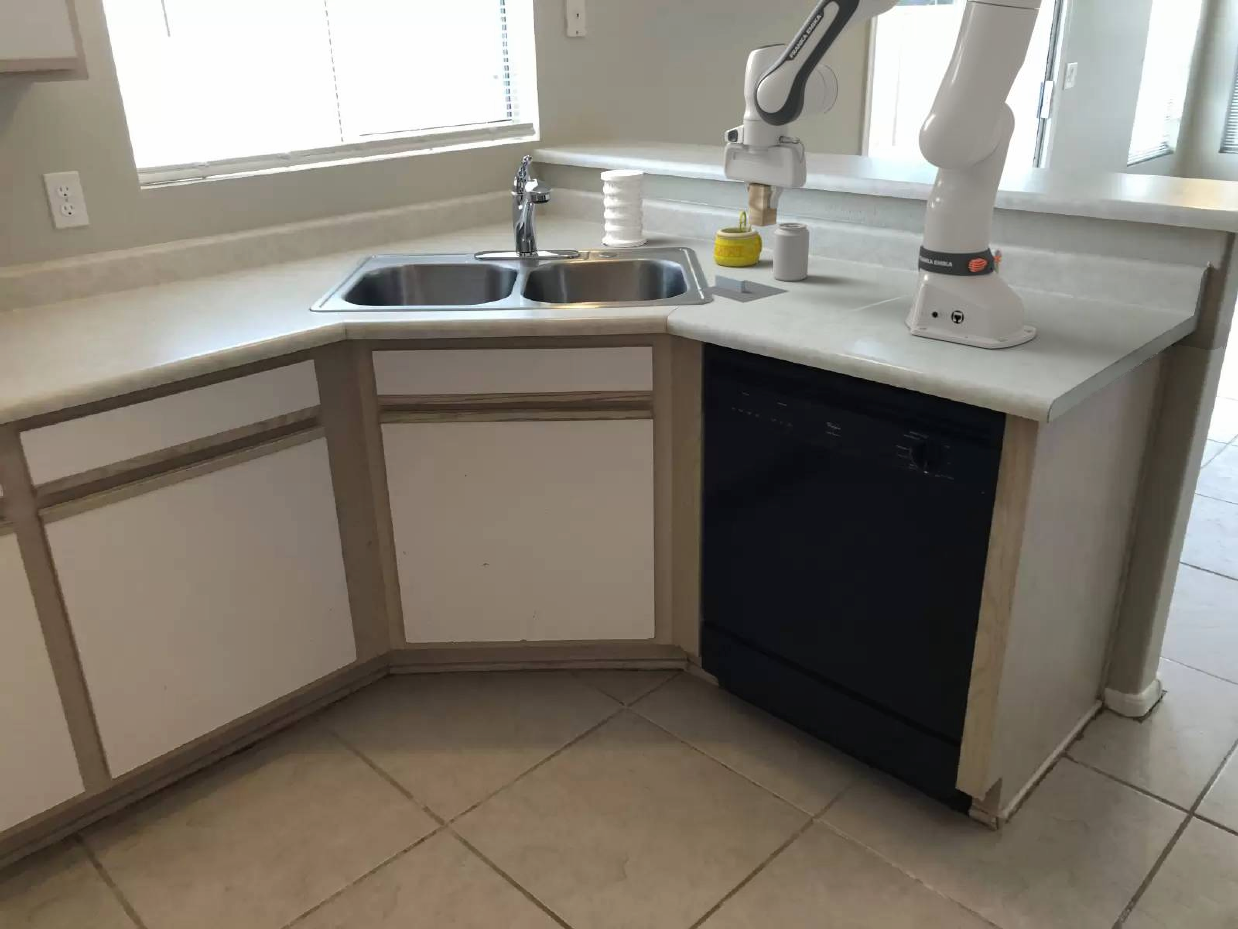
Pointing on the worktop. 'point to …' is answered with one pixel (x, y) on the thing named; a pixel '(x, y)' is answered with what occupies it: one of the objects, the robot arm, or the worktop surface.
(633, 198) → the decorative container
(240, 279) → the worktop surface
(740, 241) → the yellow pot
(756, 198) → the block
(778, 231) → the can
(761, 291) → the mat
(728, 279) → the strip
